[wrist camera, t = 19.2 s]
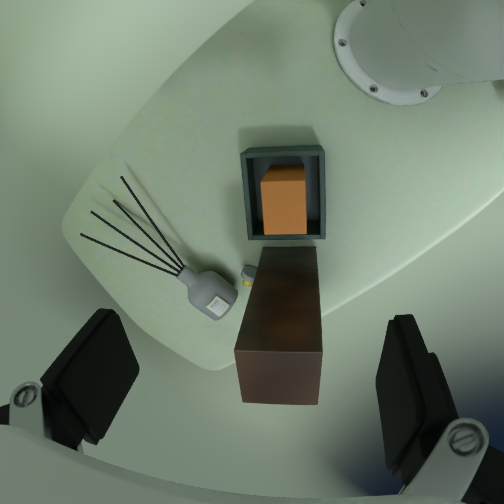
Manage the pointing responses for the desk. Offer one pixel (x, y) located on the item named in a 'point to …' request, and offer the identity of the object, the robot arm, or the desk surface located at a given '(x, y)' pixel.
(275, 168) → the orange block
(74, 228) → the desk surface
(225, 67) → the desk surface
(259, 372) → the stand
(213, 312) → the reed diffuser
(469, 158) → the desk surface
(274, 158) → the bin
